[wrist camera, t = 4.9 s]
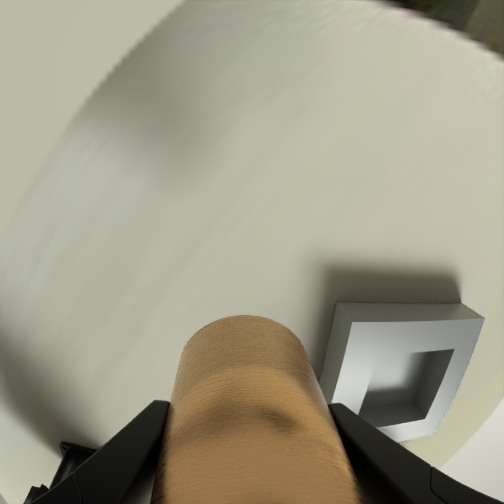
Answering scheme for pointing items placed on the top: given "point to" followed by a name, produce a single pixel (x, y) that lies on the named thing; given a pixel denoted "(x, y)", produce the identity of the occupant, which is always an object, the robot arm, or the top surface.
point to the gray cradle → (399, 362)
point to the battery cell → (250, 423)
